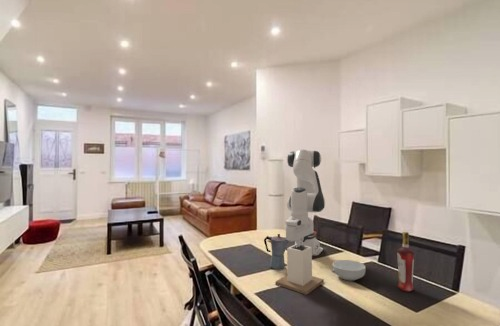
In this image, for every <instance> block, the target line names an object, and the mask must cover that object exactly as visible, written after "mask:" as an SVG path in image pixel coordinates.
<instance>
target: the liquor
mask: <svg viewBox="0 0 500 326" xmlns="http://www.w3.org/2000/svg"><path fill="white" fill-rule="evenodd" d="M401 233H402V246H401V247H400V248H398V249H396V254H397V256H396V257H397V267H398V270H397V272H398V285H397V287H398V288H399V289H400V290H401V291H403V292H406V293H409V292H412V291H413V290H414V289H415V288H414V282H413V281H414V266H415V265H414V264H415V263H414V262H415V252H414V250H413V249H410V243H409V236H410V235H409V232H407V231H402V232H401Z"/></svg>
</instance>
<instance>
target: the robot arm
mask: <svg viewBox="0 0 500 326" xmlns="http://www.w3.org/2000/svg"><path fill="white" fill-rule="evenodd" d="M286 162H287V165H288V167H290V168H292V172H293V174H294V176H295V177H296V187H295V188H293V189H292V190H291V194H290V196H288V198H287V200H286V202H285V203H286V204H285V205H286V208H287V209H288V210H289V211H290V216H289V217H288V218H287V219H286V220H285V226H286V227H285V238H286V239H287V241H289V242H291V243H292V242H294V245H295V244H297V247H300V246H302V245H304V246H308V247H312V256H319V255H320V254H321V252H323V251H324V248H323V247H321V245H320V241H319V240H318V239H317V238H316V235H317V231H314V229H315V228H314V227H315V226H314V221H313V219H311V217H309V213H321V212H322V211H323V210H324V209H325V206H326V199H325V197H324V193H323V191H322V190H323V189H322V185H321V182H320V178H319V174H318V172H317V171H316V170H315V169H316V168H317V167H320V165H321V162H322V155H321V153H320V151H317V150H306V149H299V150H297V151H294V150H293V151H290V152H289V153H287V156H286Z"/></svg>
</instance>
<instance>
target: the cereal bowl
mask: <svg viewBox="0 0 500 326" xmlns="http://www.w3.org/2000/svg"><path fill="white" fill-rule="evenodd" d="M332 270H333V273H334V274H335V275H336V276H338V277H339V278H341V279H343V280H345V281H350V282H351V281H353V282H354V281H356V280H359V279H361V278H364V276H365V275H366V270H367V269H366V265H365V264H364V263H361V262H359V261H355V260H351V259H350V260H349V259H341V260H340V259H339V260H335V261H333V262H332Z"/></svg>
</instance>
